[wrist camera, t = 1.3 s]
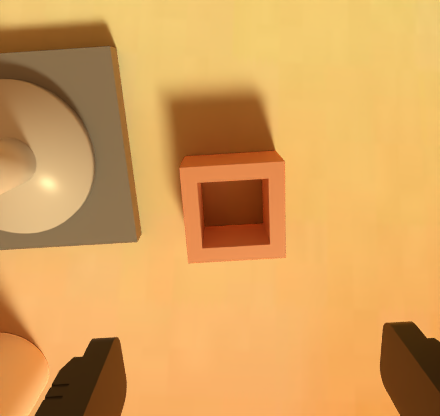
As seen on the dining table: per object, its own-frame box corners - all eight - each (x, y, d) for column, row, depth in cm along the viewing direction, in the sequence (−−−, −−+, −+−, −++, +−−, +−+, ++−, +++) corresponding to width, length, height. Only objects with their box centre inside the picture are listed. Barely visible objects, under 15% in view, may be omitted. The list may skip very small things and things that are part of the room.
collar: (275, 150, 27) (284, 161, 23) (276, 234, 29) (285, 257, 25) (184, 156, 27) (179, 167, 23) (192, 239, 29) (188, 263, 25)
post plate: (116, 48, 25) (74, 33, 18) (141, 234, 29) (115, 283, 22) (-96, 62, 25) (-223, 53, 18) (-42, 244, 29) (-128, 297, 22)
